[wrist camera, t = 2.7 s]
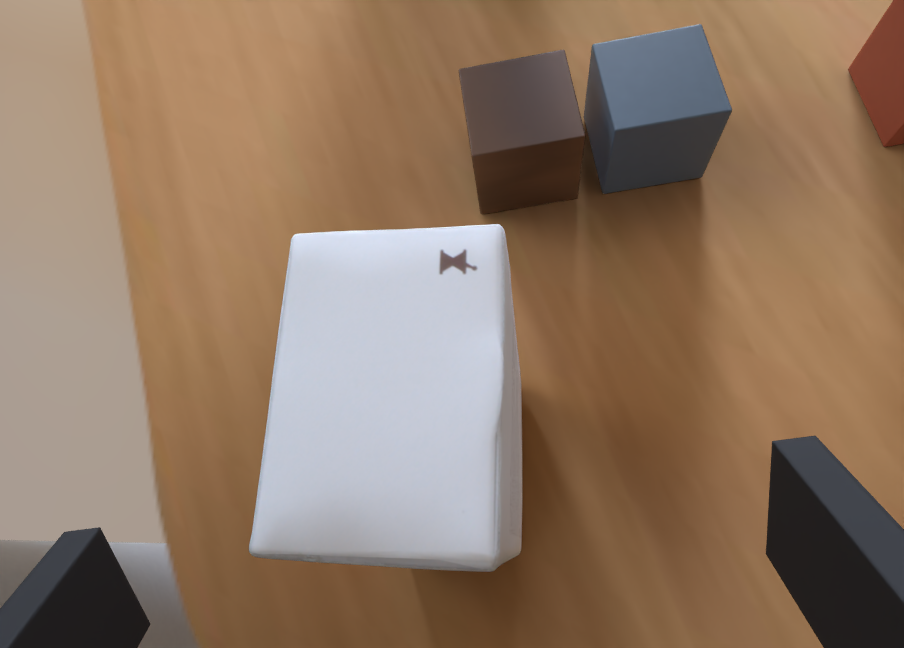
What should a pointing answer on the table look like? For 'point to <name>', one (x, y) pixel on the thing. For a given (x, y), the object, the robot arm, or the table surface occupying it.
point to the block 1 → (523, 131)
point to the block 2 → (654, 108)
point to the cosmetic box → (394, 403)
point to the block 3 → (884, 75)
